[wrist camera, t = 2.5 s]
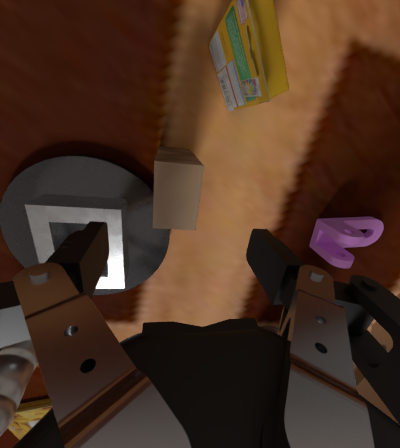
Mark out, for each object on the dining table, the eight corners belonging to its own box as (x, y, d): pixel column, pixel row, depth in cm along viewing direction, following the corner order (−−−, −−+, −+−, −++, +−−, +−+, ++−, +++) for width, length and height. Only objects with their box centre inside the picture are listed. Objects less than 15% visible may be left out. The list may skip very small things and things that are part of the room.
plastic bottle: (36, 327, 37) (-84, 516, 19) (18, 300, 34) (-146, 494, 16) (74, 320, 38) (-10, 498, 20) (59, 293, 35) (-56, 473, 17)
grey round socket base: (173, 163, 28) (175, 171, 23) (165, 287, 37) (165, 312, 32) (-15, 145, 24) (-61, 150, 19) (27, 289, 33) (4, 317, 28)
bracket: (308, 245, 38) (336, 269, 32) (316, 218, 36) (347, 238, 30) (369, 241, 40) (406, 263, 34) (381, 215, 38) (423, 233, 31)
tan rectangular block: (189, 150, 28) (203, 165, 17) (185, 192, 30) (195, 230, 20) (159, 146, 27) (154, 160, 16) (157, 190, 30) (152, 228, 19)
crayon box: (249, 101, 26) (303, 87, 16) (228, 112, 26) (268, 104, 16) (231, 32, 23) (284, -44, 13) (207, 44, 23) (240, -21, 13)
